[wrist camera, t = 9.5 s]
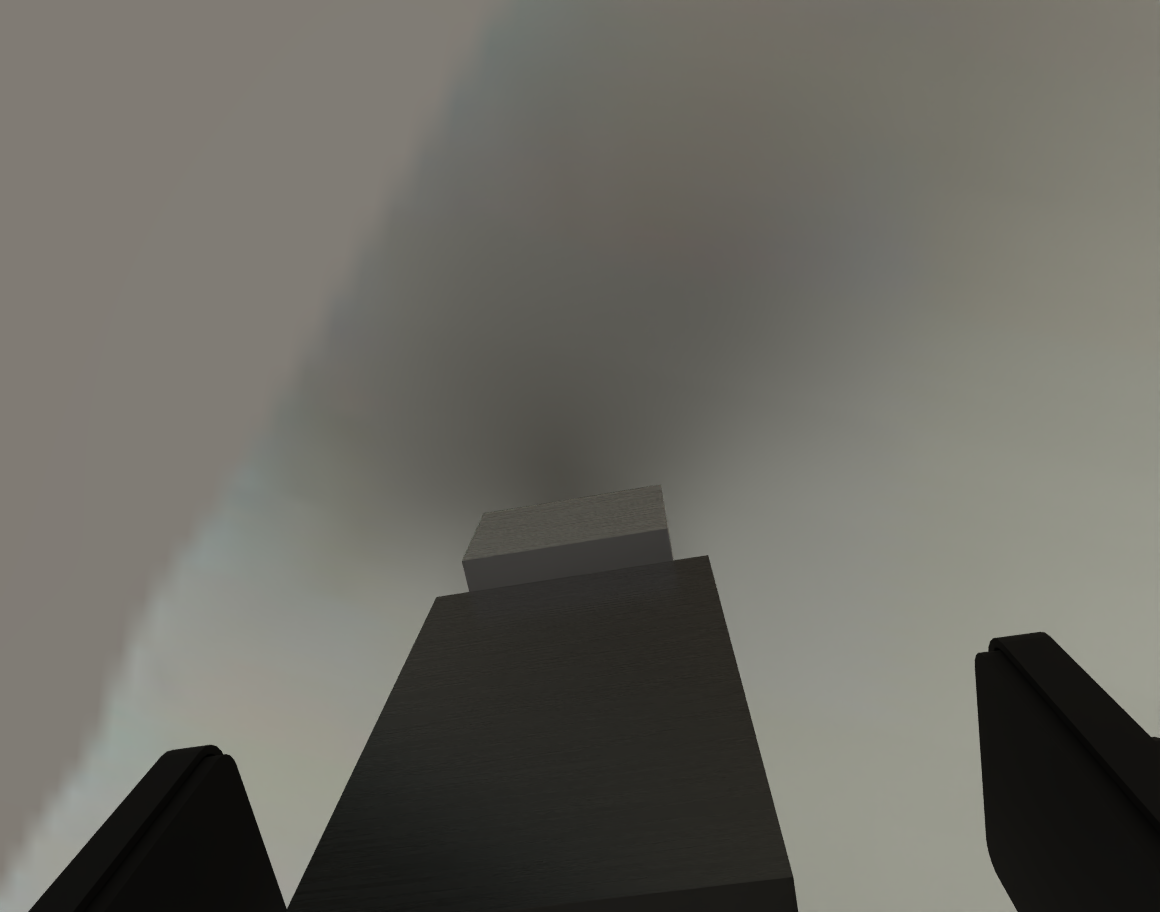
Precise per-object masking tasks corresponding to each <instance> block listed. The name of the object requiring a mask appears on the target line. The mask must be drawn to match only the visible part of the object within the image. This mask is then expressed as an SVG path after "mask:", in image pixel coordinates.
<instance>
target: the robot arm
mask: <svg viewBox="0 0 1160 912" xmlns="http://www.w3.org/2000/svg"><path fill="white" fill-rule="evenodd" d="M975 675H976V691H977V706H978V721H979V736H980V752H981V767H982V782H983V797H984V813H985V828H986V840H987V847H988V851H989V855H990V858H991V862H992V864H993V867H994V869H995V872H996V874H997V876H998V878H999V879H1000V881H1001V883H1002V885H1003V886H1004V888H1005V890H1006V892H1007V894H1008V895H1009V897H1010V899H1011V901H1012V902H1013V904H1014V906H1015V908H1016V910H1017V911H1018V912H1160V738H1157V737H1150V736H1149V735H1148V734H1147V733H1146V732H1145V731H1144V730H1143V729H1142V728H1141V727H1140V726H1139V725H1138V724H1137V723H1136V722H1135V721H1134V720H1133V719H1132V718H1131V717H1130V716H1129V715H1128V714H1127V713H1126V712H1125V711H1124V710H1123V709H1122V708H1121V707H1120V706H1119V705H1118V704H1117V703H1116V702H1115V701H1114V700H1113V699H1112V698H1111V697H1110V696H1109V695H1108V694H1107V693H1106V692H1105V691H1104V690H1103V689H1102V688H1101V687H1100V686H1099V685H1098V684H1097V683H1096V682H1095V681H1094V680H1093V679H1092V678H1091V677H1090V676H1089V675H1088V674H1087V673H1086V672H1085V671H1084V670H1083V669H1082V668H1081V667H1080V666H1079V665H1078V664H1077V663H1076V662H1075V661H1074V660H1073V659H1072V658H1071V657H1070V656H1069V655H1068V654H1067V653H1066V652H1065V651H1064V650H1063V649H1062V648H1061V647H1060V646H1059V645H1058V644H1057V643H1056V642H1055V641H1054V640H1053V639H1052V638H1051V637H1050V636H1049V635H1047V634H1046V633H1045V632H1036V633H1029V634H1021V635H1014V636H1007V637H999V638H993V639H992V640H991V641H990V644H989V651H988V652H982V653H978V654H977V655H976V658H975ZM286 910H287V909H286V906H285V903H284V900H283V897H282V894H281V891H280V889H279V886H278V883H277V880H276V877H275V874H274V871H273V868H272V866H271V863H270V860H269V857H268V854H267V851H266V848H265V845H264V843H263V840H262V837H261V834H260V831H259V828H258V825H257V822H256V820H255V817H254V814H253V811H252V808H251V805H250V802H249V799H248V797H247V794H246V791H245V788H244V785H243V782H242V779H241V776H240V774H239V771H238V768H237V765H236V763H235V761H234V759H233V758H232V757H231V756H230V755H227V754H224V755H223V753H222V751H221V750H220V749H219V748H218V747H217V746H214V745H205V746H198V747H191V748H183V749H176V750H171V751H167V752H166V753H165V754H164V755H162V756H161V757H160V758H159V760H158V761H157V762H156V763H155V764H154V765H153V767H152V768H151V769H150V770H149V771H148V772H147V774H146V775H145V776H144V777H143V778H142V779H141V781H140V782H139V783H138V784H137V785H136V786H135V788H134V789H133V790H132V791H131V792H130V793H129V795H128V796H127V797H126V798H125V799H124V800H123V802H122V803H121V804H120V805H119V806H118V808H117V809H116V810H115V811H114V812H113V813H112V815H111V816H110V817H109V818H108V819H107V820H106V822H105V823H104V824H103V825H102V826H101V827H100V829H99V830H98V831H97V832H96V833H95V834H94V836H93V837H92V838H91V839H90V840H89V841H88V843H87V844H86V845H85V846H84V847H83V848H82V850H81V851H80V852H79V853H78V854H77V855H76V857H75V858H74V859H73V860H72V861H71V862H70V864H69V865H68V866H67V867H66V868H65V869H64V871H63V872H62V873H61V874H60V875H59V876H58V878H57V879H56V880H55V881H54V882H53V883H52V885H51V886H50V887H49V888H48V889H47V890H46V892H45V893H44V894H43V895H42V896H41V898H40V899H39V900H38V901H37V902H36V903H35V905H34V906H33V907H32V908H31V909H30V910H29V912H286Z"/></svg>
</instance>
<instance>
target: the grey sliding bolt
mask: <svg viewBox="0 0 1160 912" xmlns="http://www.w3.org/2000/svg"><path fill="white" fill-rule="evenodd" d="M462 563H463V567H464V571H465V576H466V580H467V584H468V588H469V592H467V593H460V594H454V595H448V596H441V597H436V599H435V601H434V603H433V606H432V608H431V610H430V612H429V614H428V616H427V618H426V620H425V622H424V624H423V626H422V628H421V631H420V633H419V635H418V637H417V639H416V641H415V643H414V645H413V647H412V649H411V651H410V654H409V656H408V658H407V660H406V662H405V664H404V666H403V668H402V670H401V672H400V674H399V676H398V679H397V681H396V683H395V685H394V687H393V689H392V691H391V693H390V695H389V697H388V699H387V702H386V704H385V706H384V708H383V710H382V712H381V714H380V716H379V718H378V720H377V722H376V724H375V727H374V729H373V731H372V733H371V735H370V737H369V739H368V741H367V743H366V745H365V747H364V750H363V752H362V754H361V756H360V758H359V760H358V762H357V764H356V766H355V768H354V770H353V772H352V775H351V777H350V779H349V781H348V783H347V785H346V787H345V789H344V791H343V793H342V795H341V798H340V800H339V802H338V804H337V806H336V808H335V810H334V812H333V814H332V816H331V818H330V820H329V823H328V825H327V827H326V829H325V831H324V833H323V835H322V837H321V839H320V841H319V843H318V846H317V848H316V850H315V852H314V854H313V856H312V858H311V860H310V862H309V864H308V866H307V868H306V871H305V873H304V875H303V877H302V879H301V881H300V883H299V885H298V887H297V889H296V891H295V894H294V896H293V898H292V900H291V902H290V904H289V906H288V908H287V910H286V912H798V907H797V900H796V893H795V886H794V879H793V874H792V871H791V867H790V863H789V859H788V856H787V852H786V848H785V844H784V840H783V837H782V833H781V829H780V825H779V822H778V818H777V814H776V810H775V807H774V803H773V799H772V795H771V791H770V788H769V784H768V780H767V776H766V773H765V769H764V765H763V761H762V757H761V754H760V750H759V746H758V742H757V739H756V735H755V731H754V727H753V723H752V720H751V716H750V712H749V708H748V705H747V701H746V697H745V693H744V689H743V686H742V682H741V678H740V674H739V671H738V667H737V663H736V659H735V655H734V652H733V648H732V644H731V640H730V637H729V633H728V629H727V625H726V622H725V618H724V614H723V610H722V606H721V603H720V599H719V595H718V591H717V588H716V584H715V580H714V576H713V572H712V569H711V565H710V561H709V557H708V555H706V556H700V557H693V558H687V559H680V560H673V554H672V548H671V543H670V537H669V531H668V525H667V519H666V513H665V507H664V501H663V495H662V489H661V485H655V486H649V487H643V488H637V489H630V490H624V491H618V492H612V493H606V494H600V495H594V496H588V497H582V498H575V499H569V500H563V501H557V502H551V503H545V504H539V505H533V506H526V507H520V508H514V509H508V510H502V511H496V512H490V513H484V514H483V516H482V518H481V520H480V522H479V525H478V527H477V529H476V531H475V533H474V535H473V538H472V540H471V542H470V544H469V546H468V549H467V551H466V553H465V555H464V557H463V560H462Z"/></svg>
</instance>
